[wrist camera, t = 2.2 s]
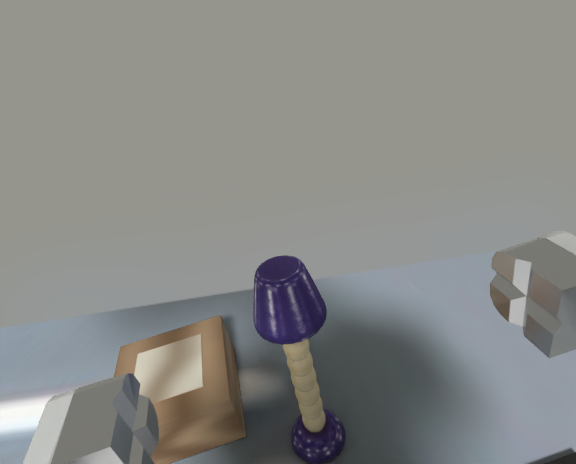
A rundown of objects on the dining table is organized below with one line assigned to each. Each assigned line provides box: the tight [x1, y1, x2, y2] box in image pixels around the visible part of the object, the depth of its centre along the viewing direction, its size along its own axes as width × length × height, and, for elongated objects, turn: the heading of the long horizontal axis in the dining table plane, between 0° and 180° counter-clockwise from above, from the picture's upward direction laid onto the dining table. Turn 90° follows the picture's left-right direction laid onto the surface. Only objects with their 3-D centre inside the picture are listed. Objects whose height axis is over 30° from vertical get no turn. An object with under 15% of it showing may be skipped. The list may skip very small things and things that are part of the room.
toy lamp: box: [254, 256, 345, 464], centre depth 26 cm, size 5×5×17 cm
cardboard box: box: [114, 315, 246, 464], centre depth 34 cm, size 10×10×5 cm
